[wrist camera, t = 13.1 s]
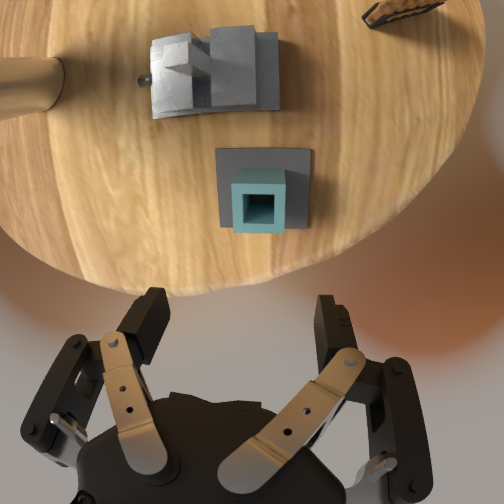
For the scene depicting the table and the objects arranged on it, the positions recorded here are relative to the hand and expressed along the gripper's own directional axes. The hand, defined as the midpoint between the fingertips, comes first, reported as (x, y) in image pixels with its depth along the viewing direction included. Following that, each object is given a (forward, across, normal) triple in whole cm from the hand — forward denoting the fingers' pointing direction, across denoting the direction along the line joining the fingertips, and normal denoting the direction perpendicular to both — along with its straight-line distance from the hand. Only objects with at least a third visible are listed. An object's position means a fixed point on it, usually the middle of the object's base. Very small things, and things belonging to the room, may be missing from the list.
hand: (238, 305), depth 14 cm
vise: (+21, +5, -14) cm, 26 cm away
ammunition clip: (+22, -17, -25) cm, 37 cm away
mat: (+21, 0, 0) cm, 21 cm away
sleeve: (+21, 0, 0) cm, 21 cm away
